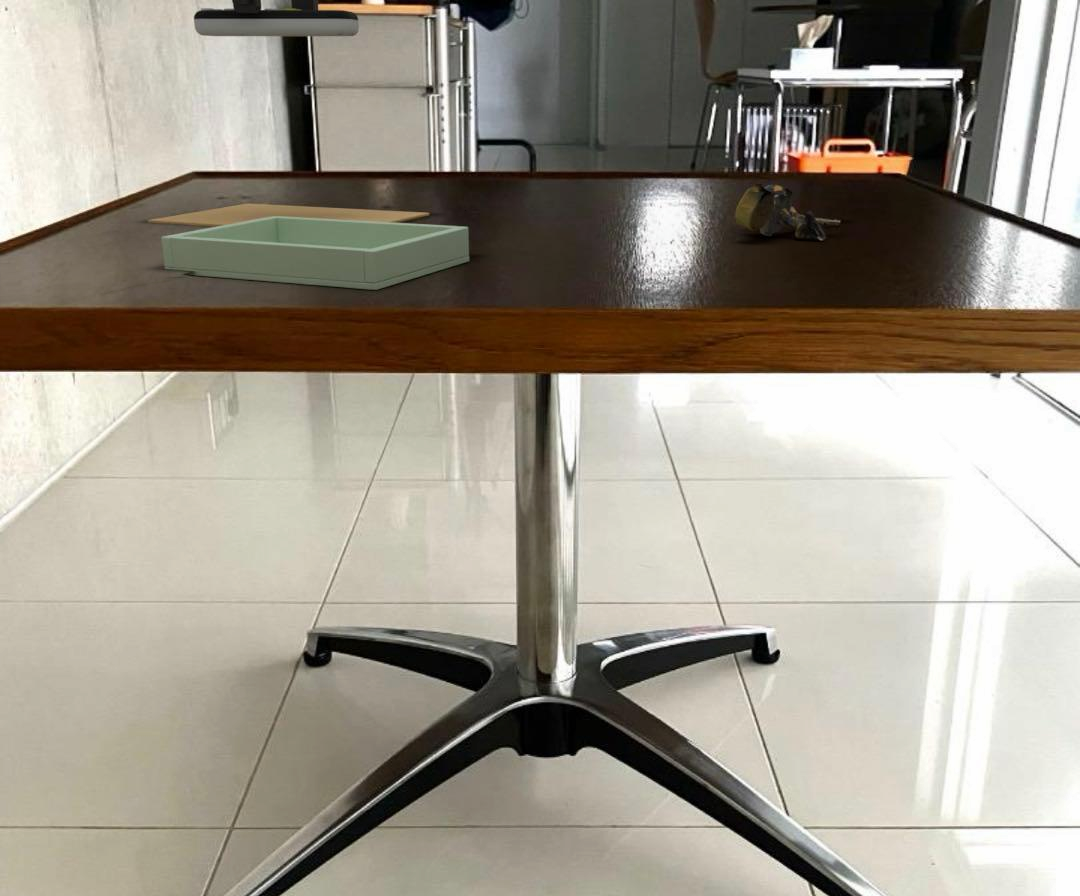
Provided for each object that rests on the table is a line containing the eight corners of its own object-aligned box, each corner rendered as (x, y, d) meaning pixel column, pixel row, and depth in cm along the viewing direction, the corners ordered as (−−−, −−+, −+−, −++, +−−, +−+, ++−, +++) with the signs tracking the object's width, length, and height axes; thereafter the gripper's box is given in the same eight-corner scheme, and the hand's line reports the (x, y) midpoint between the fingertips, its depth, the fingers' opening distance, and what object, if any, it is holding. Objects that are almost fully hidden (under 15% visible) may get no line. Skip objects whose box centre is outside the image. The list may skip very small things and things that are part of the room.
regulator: (801, 230, 107) (700, 214, 96) (822, 187, 105) (721, 166, 94) (869, 267, 103) (771, 256, 92) (891, 223, 101) (794, 206, 90)
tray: (164, 273, 82) (160, 236, 81) (276, 248, 93) (273, 215, 92) (376, 290, 76) (374, 251, 75) (469, 261, 87) (468, 226, 86)
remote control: (349, 35, 97) (348, 7, 96) (190, 35, 97) (188, 8, 97) (362, 36, 103) (360, 10, 102) (211, 36, 103) (209, 10, 102)
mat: (148, 225, 106) (147, 220, 105) (247, 208, 117) (247, 203, 117) (344, 238, 98) (344, 231, 98) (429, 218, 110) (429, 212, 110)
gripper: (275, -199, 101) (291, 17, 107) (157, -234, 89) (182, 12, 95) (352, -207, 98) (364, 16, 104) (241, -244, 86) (261, 10, 92)
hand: (277, 13), depth 100 cm, fingers closed on remote control, 7 cm apart
